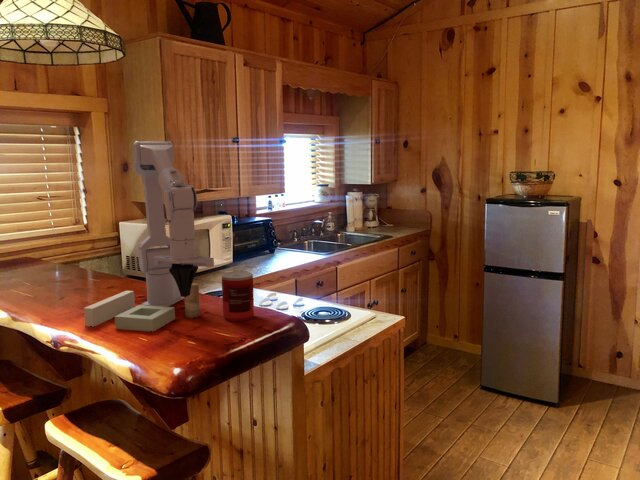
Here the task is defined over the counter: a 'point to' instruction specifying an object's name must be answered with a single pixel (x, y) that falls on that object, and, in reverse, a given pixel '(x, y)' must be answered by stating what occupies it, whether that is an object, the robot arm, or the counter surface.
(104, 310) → the wall board
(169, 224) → the robot arm
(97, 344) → the counter surface
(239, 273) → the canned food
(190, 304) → the dowel
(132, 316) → the socket block
